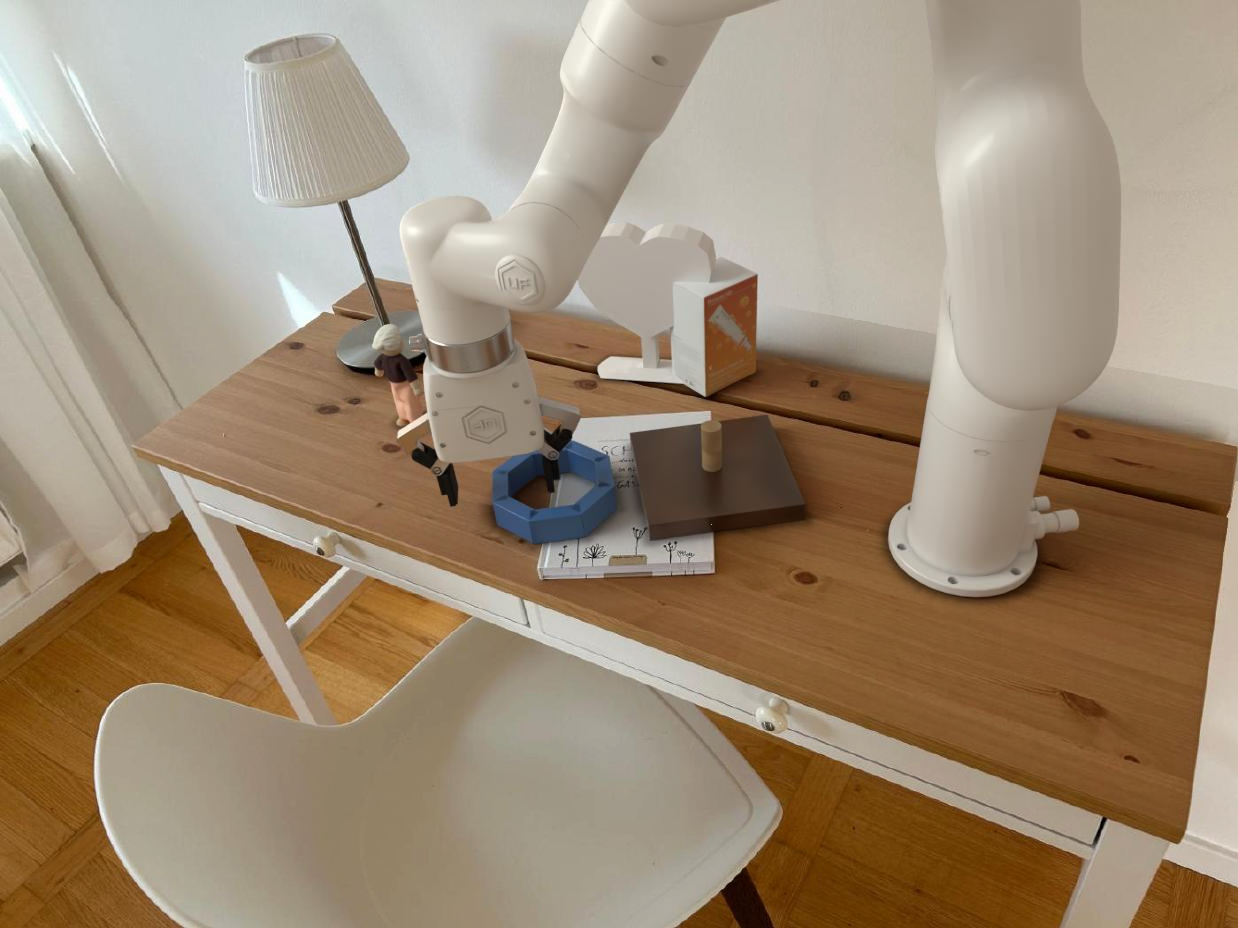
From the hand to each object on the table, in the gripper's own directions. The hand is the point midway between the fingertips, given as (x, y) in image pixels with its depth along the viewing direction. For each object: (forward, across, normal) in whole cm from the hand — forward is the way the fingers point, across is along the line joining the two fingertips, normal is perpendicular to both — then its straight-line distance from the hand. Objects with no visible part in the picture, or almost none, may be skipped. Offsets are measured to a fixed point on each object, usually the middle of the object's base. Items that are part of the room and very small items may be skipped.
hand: (502, 490), depth 90 cm
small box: (+3, +25, +20) cm, 32 cm away
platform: (+2, +21, 0) cm, 21 cm away
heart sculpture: (+2, +18, +22) cm, 29 cm away
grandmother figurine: (+3, -11, +18) cm, 21 cm away
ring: (+2, +5, 0) cm, 6 cm away
